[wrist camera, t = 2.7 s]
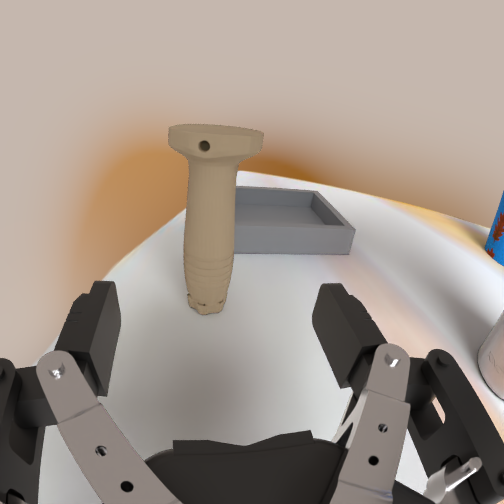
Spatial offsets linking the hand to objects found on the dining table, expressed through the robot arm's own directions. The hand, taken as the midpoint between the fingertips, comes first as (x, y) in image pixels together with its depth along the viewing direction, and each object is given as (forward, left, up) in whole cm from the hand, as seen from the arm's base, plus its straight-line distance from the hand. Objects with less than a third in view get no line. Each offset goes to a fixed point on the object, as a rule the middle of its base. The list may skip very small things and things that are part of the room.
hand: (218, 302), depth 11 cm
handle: (0, -12, -10) cm, 16 cm away
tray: (-10, -28, -10) cm, 31 cm away
